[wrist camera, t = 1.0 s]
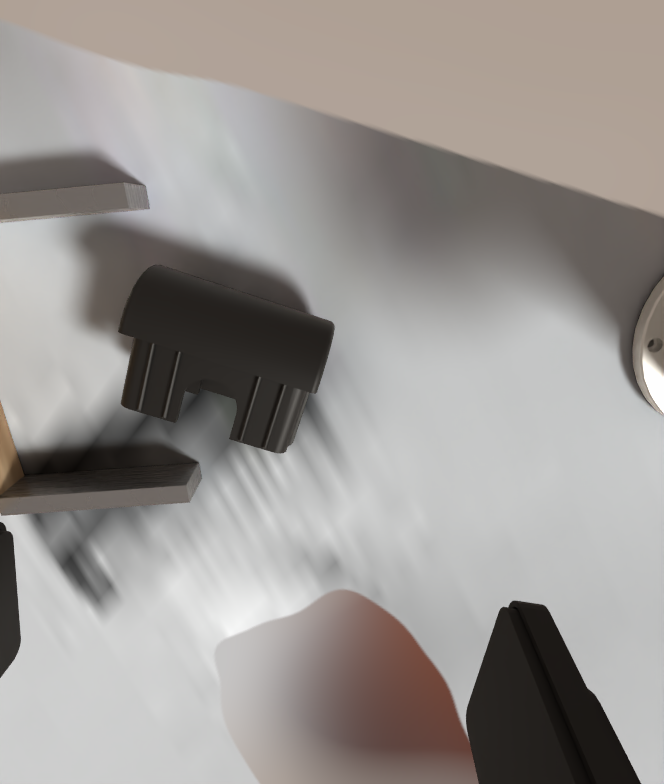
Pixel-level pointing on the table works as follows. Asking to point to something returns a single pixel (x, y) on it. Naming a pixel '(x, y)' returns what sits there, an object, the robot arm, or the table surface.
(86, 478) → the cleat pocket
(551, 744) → the robot arm
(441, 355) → the table surface
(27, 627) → the table surface
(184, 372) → the end cap
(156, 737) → the table surface
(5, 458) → the wall board
